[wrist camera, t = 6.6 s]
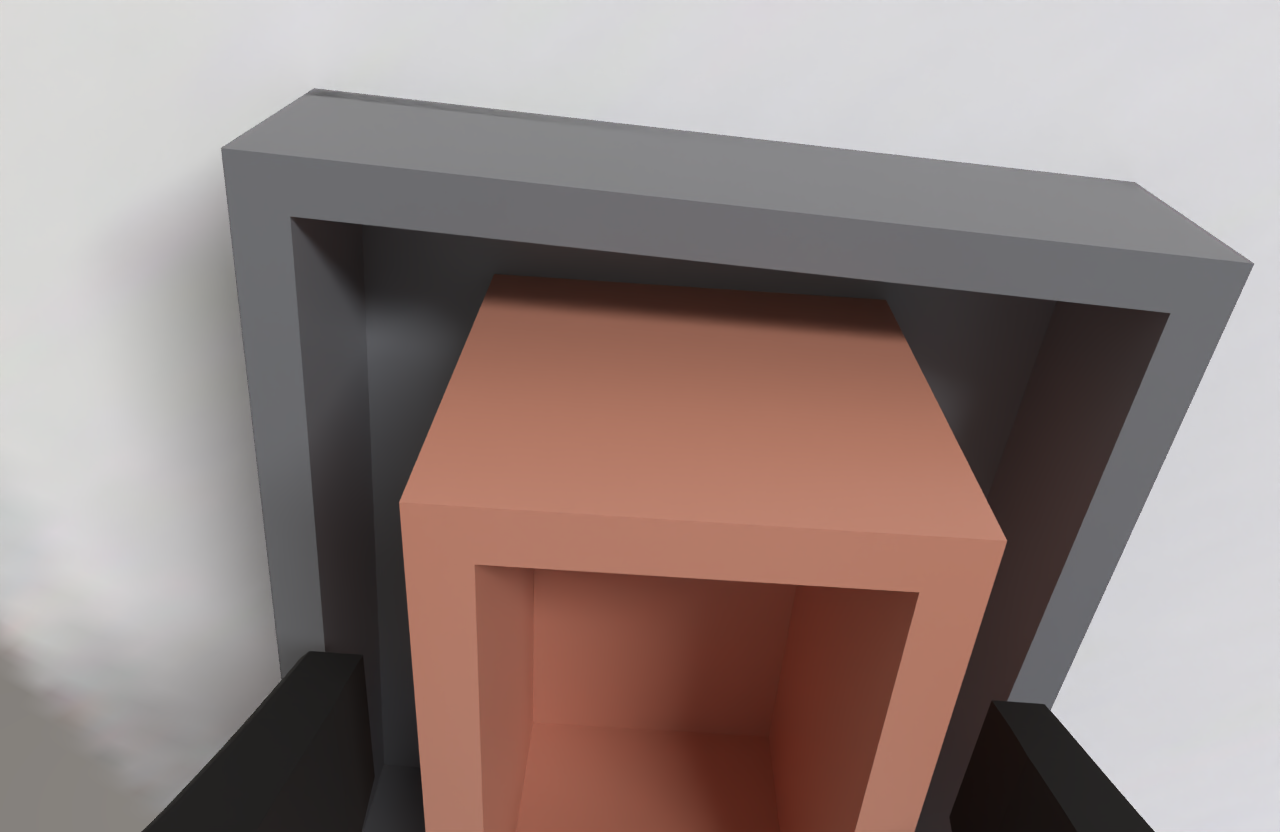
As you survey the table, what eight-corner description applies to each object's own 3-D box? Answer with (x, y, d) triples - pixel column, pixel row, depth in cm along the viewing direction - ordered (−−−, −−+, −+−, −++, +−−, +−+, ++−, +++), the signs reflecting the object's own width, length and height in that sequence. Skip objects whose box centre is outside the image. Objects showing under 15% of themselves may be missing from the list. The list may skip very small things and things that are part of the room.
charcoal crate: (895, 805, 18) (933, 965, 15) (360, 756, 18) (307, 911, 15) (1125, 176, 12) (1254, 263, 9) (320, 84, 12) (220, 148, 9)
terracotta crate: (796, 735, 16) (843, 1053, 12) (501, 717, 16) (441, 1030, 12) (886, 299, 12) (1007, 541, 8) (494, 273, 12) (400, 502, 8)
